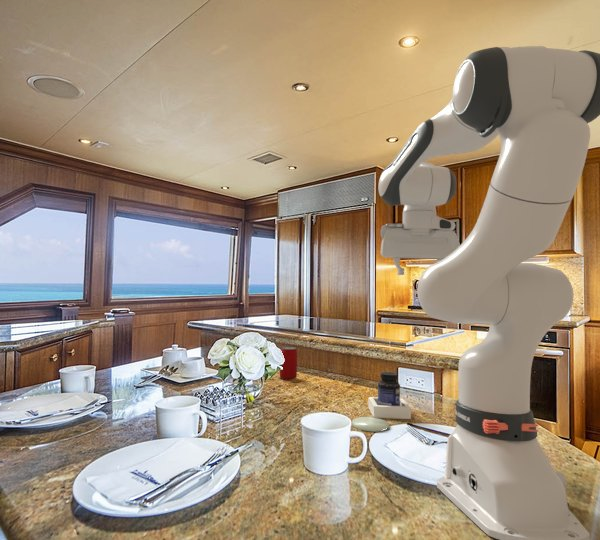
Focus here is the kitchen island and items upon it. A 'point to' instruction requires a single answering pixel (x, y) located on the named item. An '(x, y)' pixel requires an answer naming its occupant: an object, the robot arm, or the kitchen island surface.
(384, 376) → the pill bottle
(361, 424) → the coaster
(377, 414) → the pocket
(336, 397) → the kitchen island surface
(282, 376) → the beverage can
